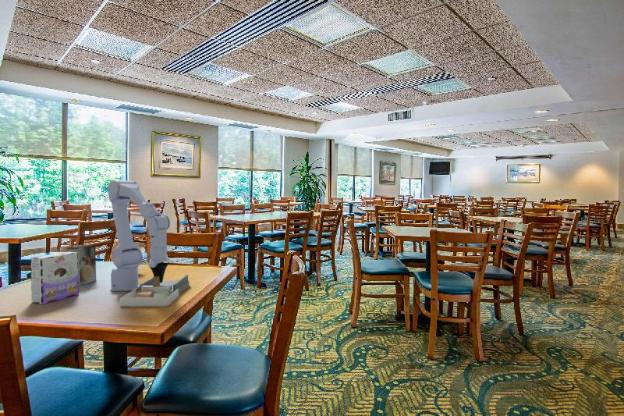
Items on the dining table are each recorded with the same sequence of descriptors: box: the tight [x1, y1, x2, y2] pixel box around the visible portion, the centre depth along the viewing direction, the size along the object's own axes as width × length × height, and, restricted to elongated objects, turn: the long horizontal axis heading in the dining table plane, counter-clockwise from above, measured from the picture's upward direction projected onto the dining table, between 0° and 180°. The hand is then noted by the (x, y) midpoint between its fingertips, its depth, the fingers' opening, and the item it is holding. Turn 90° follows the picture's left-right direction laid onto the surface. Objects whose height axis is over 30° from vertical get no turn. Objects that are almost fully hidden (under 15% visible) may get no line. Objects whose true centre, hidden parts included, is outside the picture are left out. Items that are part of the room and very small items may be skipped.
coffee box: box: [66, 244, 97, 286], centre depth 162 cm, size 9×6×16 cm
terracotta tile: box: [138, 291, 154, 298], centre depth 138 cm, size 4×4×2 cm
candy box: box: [30, 251, 80, 305], centre depth 138 cm, size 14×6×16 cm, turn 157°
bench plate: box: [138, 274, 190, 295], centre depth 150 cm, size 14×17×4 cm
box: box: [119, 289, 180, 308], centre depth 136 cm, size 16×12×3 cm
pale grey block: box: [141, 275, 172, 291], centre depth 141 cm, size 11×2×5 cm, turn 92°
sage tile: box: [154, 291, 169, 298], centre depth 138 cm, size 4×4×2 cm
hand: (159, 282), depth 143 cm, fingers closed
